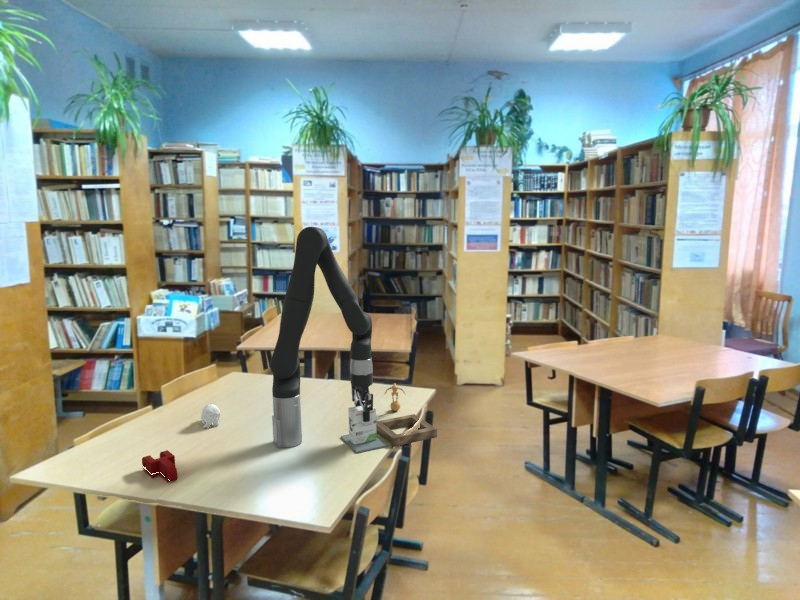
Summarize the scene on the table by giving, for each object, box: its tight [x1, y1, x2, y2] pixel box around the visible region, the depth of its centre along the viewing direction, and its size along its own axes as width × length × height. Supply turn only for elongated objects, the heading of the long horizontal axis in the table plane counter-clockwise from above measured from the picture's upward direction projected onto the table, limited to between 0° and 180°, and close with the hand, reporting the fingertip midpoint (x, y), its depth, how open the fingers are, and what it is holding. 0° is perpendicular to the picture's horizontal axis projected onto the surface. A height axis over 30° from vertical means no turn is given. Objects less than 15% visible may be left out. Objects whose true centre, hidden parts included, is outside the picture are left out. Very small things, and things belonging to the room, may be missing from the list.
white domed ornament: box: [200, 403, 221, 429], centre depth 206 cm, size 6×8×12 cm
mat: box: [340, 433, 388, 454], centre depth 187 cm, size 11×15×1 cm
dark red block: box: [141, 450, 179, 483], centre depth 165 cm, size 16×7×5 cm, turn 44°
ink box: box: [347, 405, 377, 445], centre depth 186 cm, size 9×5×12 cm, turn 117°
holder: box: [376, 413, 438, 447], centre depth 194 cm, size 17×17×3 cm
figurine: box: [384, 382, 406, 412], centre depth 216 cm, size 8×6×12 cm
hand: (362, 418), depth 186 cm, fingers open, 6 cm apart
